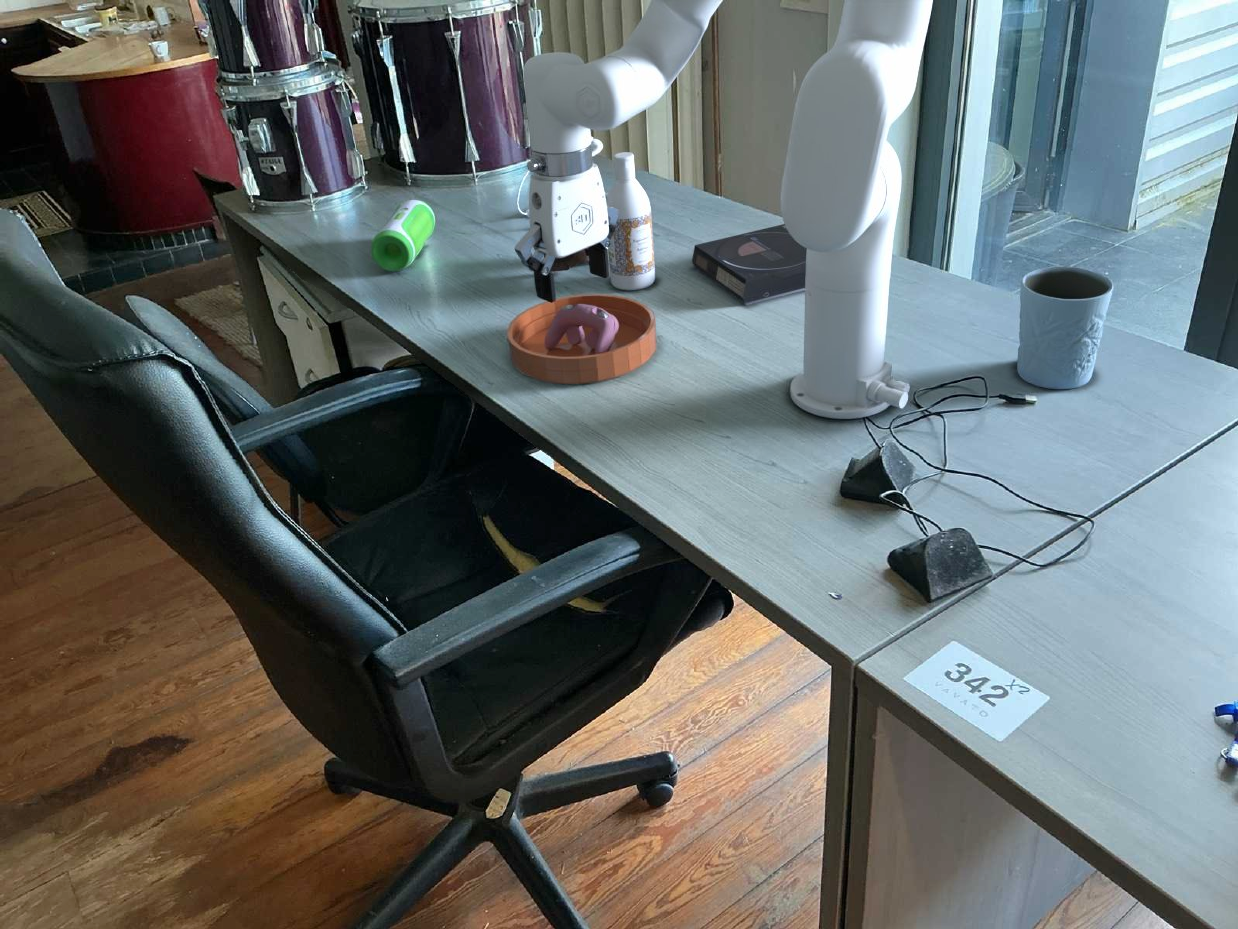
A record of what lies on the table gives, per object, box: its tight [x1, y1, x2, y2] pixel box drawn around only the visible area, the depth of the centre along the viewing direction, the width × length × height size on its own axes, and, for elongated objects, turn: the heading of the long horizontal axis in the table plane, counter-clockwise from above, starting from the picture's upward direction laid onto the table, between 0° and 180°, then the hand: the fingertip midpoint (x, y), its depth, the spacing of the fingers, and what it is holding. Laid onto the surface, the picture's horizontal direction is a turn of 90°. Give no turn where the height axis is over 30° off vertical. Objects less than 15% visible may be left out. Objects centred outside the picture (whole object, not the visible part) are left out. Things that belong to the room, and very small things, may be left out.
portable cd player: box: [691, 223, 807, 306], centre depth 160 cm, size 16×17×4 cm
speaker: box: [371, 199, 436, 272], centre depth 178 cm, size 18×7×8 cm, turn 175°
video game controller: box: [545, 304, 619, 354], centre depth 142 cm, size 10×5×7 cm, turn 58°
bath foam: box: [606, 151, 656, 291], centre depth 157 cm, size 7×7×20 cm
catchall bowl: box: [506, 293, 658, 385], centre depth 143 cm, size 20×20×4 cm
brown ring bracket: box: [543, 248, 589, 273], centre depth 169 cm, size 12×10×8 cm
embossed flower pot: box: [1016, 266, 1114, 390], centre depth 125 cm, size 10×10×12 cm
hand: (573, 287), depth 139 cm, fingers open, 9 cm apart
